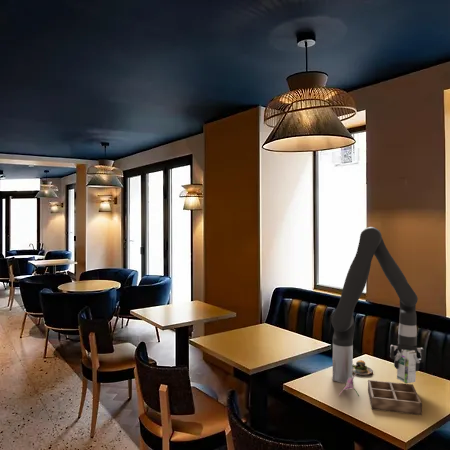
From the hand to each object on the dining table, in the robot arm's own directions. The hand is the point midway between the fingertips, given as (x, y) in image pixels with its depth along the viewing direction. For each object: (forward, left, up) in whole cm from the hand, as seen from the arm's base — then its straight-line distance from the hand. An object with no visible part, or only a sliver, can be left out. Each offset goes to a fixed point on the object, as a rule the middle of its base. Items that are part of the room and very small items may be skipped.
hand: (406, 369), depth 178 cm
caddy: (-8, -15, -9) cm, 19 cm away
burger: (-19, +16, -9) cm, 26 cm away
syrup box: (0, 0, -5) cm, 5 cm away
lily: (-25, -12, -9) cm, 30 cm away
